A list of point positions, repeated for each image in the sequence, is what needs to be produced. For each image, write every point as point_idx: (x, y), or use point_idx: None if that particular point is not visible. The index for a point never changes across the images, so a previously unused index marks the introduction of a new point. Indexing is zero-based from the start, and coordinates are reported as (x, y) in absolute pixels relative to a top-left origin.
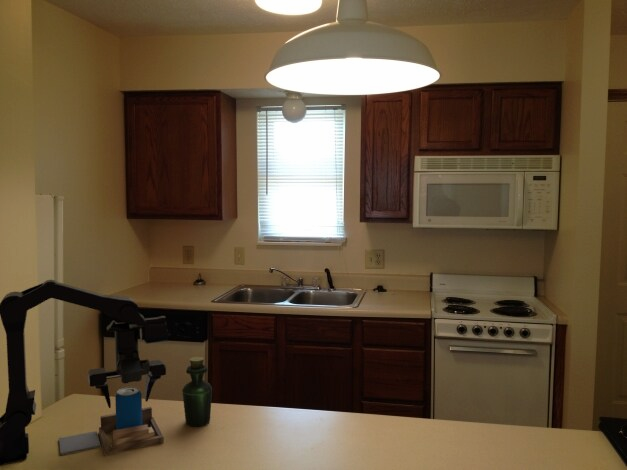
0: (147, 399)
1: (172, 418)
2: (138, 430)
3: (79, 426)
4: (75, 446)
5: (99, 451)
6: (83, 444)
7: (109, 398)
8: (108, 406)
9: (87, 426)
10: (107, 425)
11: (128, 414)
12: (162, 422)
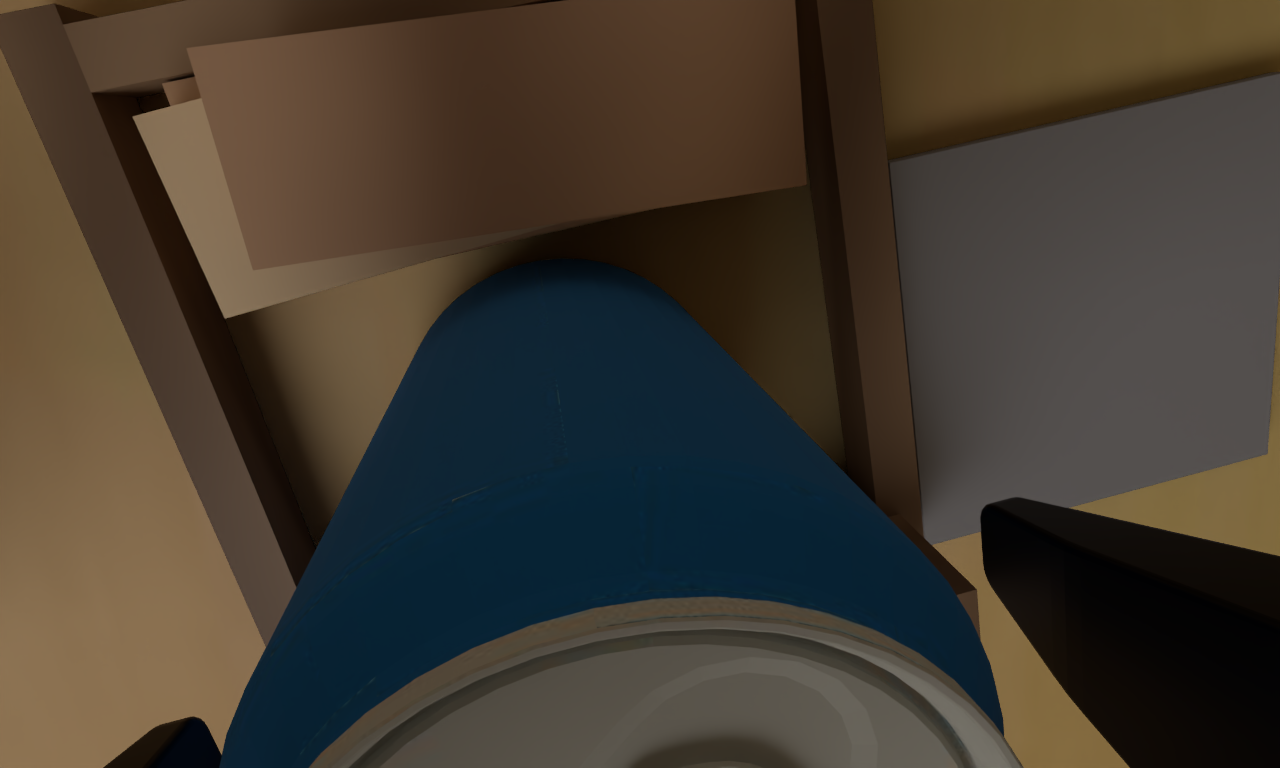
0: (130, 752)
1: (79, 737)
2: (376, 42)
3: (1063, 698)
4: (1144, 206)
5: (888, 41)
6: (1063, 237)
7: (1214, 589)
8: (1054, 508)
9: (996, 687)
10: None
11: (581, 334)
12: (194, 653)
